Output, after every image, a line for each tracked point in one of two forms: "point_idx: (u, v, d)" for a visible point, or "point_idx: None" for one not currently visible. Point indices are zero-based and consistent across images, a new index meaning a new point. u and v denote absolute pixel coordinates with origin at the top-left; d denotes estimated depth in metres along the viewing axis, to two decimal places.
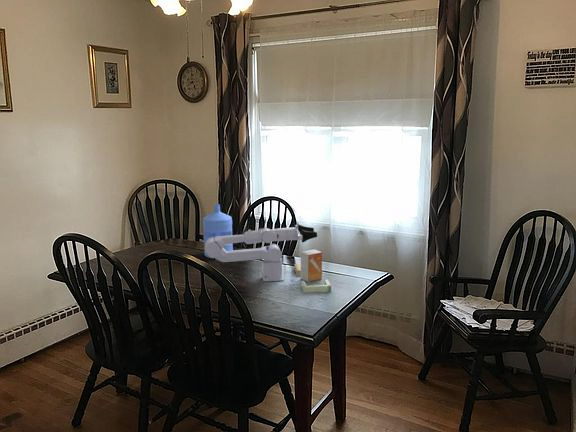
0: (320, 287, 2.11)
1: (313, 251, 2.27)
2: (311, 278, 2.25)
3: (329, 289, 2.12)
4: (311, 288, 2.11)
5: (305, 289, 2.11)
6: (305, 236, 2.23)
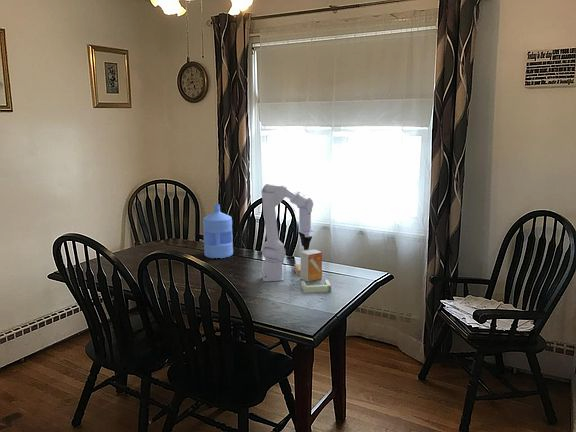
0: (320, 287, 2.11)
1: (313, 251, 2.27)
2: (311, 278, 2.25)
3: (329, 289, 2.12)
4: (311, 288, 2.11)
5: (305, 289, 2.11)
6: (305, 239, 2.41)
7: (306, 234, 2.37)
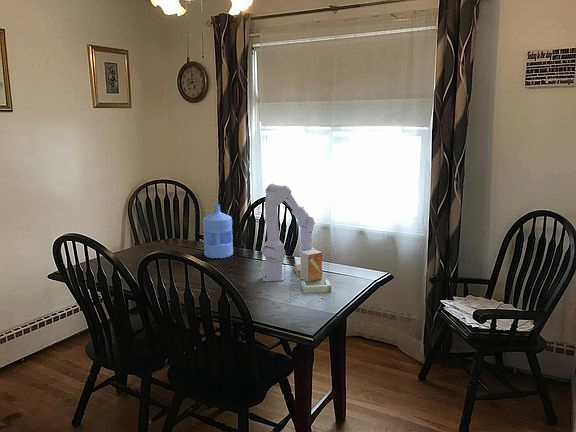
0: (320, 287, 2.11)
1: (313, 251, 2.27)
2: (311, 278, 2.25)
3: (329, 289, 2.12)
4: (311, 288, 2.11)
5: (305, 289, 2.11)
6: None
7: None
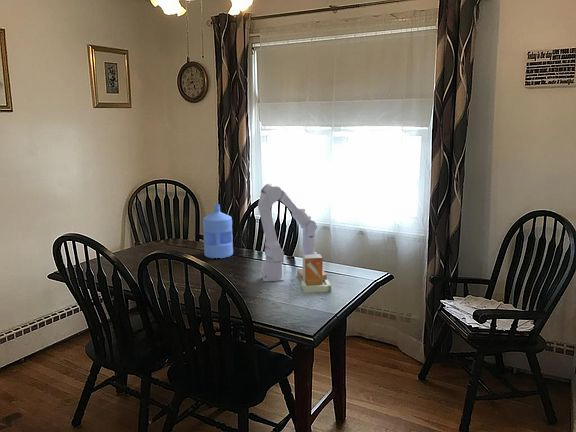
0: (320, 287, 2.11)
1: (315, 255, 2.20)
2: (309, 283, 2.19)
3: (329, 289, 2.12)
4: (311, 288, 2.11)
5: (305, 289, 2.11)
6: None
7: None
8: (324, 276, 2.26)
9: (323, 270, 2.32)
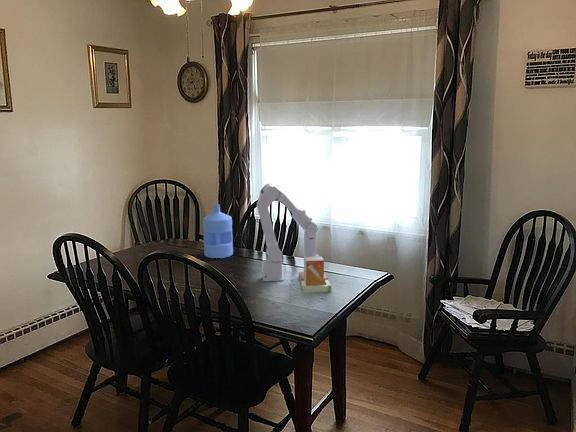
0: (320, 287, 2.11)
1: (316, 258, 2.16)
2: None
3: (329, 289, 2.12)
4: (311, 288, 2.11)
5: (305, 289, 2.11)
6: None
7: None
8: (325, 279, 2.22)
9: None
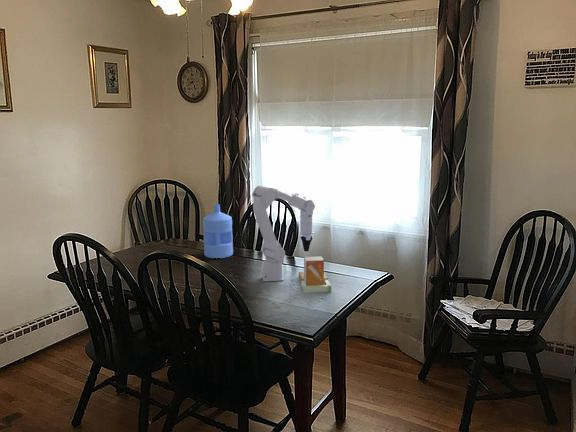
0: (320, 287, 2.11)
1: (316, 258, 2.16)
2: None
3: (329, 289, 2.12)
4: (311, 288, 2.11)
5: (305, 289, 2.11)
6: (305, 240, 2.37)
7: (307, 237, 2.30)
8: (325, 279, 2.22)
9: None
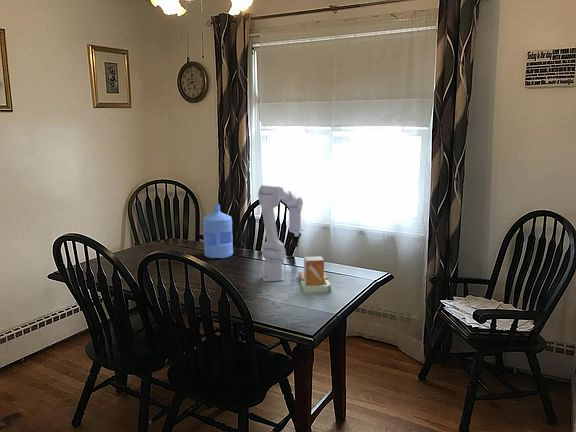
0: (320, 287, 2.11)
1: (316, 258, 2.16)
2: None
3: (329, 289, 2.12)
4: (311, 288, 2.11)
5: (305, 289, 2.11)
6: (294, 236, 2.44)
7: (296, 233, 2.37)
8: (325, 279, 2.22)
9: None
